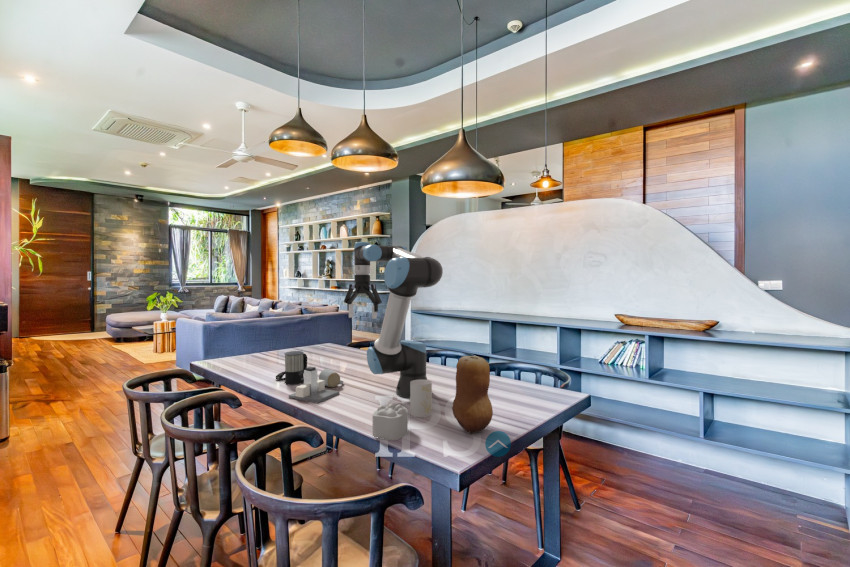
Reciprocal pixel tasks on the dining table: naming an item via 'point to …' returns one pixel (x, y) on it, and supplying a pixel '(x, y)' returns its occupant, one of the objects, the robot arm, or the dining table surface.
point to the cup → (421, 398)
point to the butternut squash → (472, 394)
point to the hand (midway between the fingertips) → (362, 318)
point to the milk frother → (294, 367)
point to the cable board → (320, 396)
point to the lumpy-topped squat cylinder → (390, 422)
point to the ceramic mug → (330, 378)
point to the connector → (311, 379)
